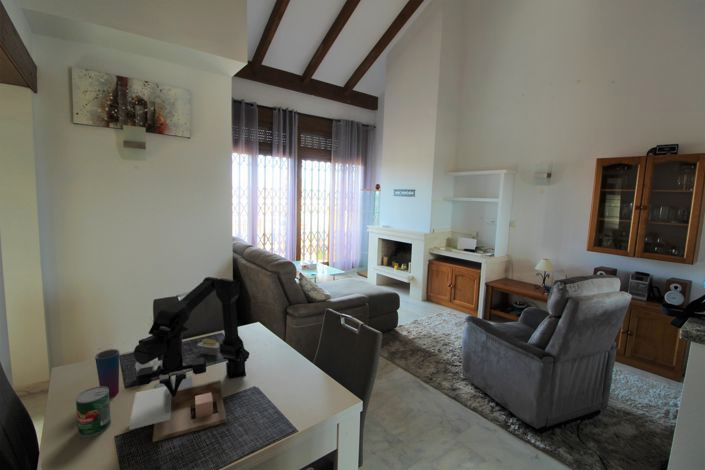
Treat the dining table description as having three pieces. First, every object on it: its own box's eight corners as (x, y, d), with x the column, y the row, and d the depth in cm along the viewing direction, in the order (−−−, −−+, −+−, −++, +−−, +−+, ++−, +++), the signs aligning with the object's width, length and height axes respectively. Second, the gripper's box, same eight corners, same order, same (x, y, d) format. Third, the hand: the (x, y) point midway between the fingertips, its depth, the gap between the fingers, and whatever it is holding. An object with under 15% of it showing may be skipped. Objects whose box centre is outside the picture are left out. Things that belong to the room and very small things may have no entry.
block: (211, 406, 113) (211, 392, 112) (213, 415, 109) (212, 400, 108) (195, 410, 111) (195, 396, 110) (196, 419, 106) (195, 404, 106)
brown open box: (220, 394, 119) (220, 379, 119) (226, 422, 105) (226, 406, 105) (156, 409, 110) (155, 393, 110) (152, 442, 96) (152, 424, 95)
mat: (191, 377, 129) (191, 376, 129) (192, 394, 119) (192, 393, 119) (156, 384, 124) (156, 383, 124) (153, 403, 113) (153, 402, 113)
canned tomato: (74, 439, 96) (71, 404, 95) (83, 422, 103) (80, 389, 102) (107, 432, 99) (105, 398, 98) (114, 416, 106) (111, 384, 105)
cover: (171, 389, 112) (171, 379, 111) (170, 419, 97) (169, 408, 97) (136, 396, 107) (135, 386, 107) (129, 429, 93) (128, 418, 92)
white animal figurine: (133, 357, 126) (153, 345, 138) (133, 379, 126) (153, 365, 138) (149, 357, 126) (168, 346, 138) (149, 380, 126) (168, 366, 138)
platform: (200, 346, 156) (200, 332, 155) (236, 350, 152) (235, 337, 151) (183, 358, 144) (182, 344, 143) (220, 363, 141) (220, 349, 140)
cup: (109, 401, 114) (106, 359, 112) (92, 398, 115) (89, 357, 113) (126, 389, 120) (124, 350, 118) (110, 387, 121) (108, 348, 120)
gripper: (203, 333, 114) (204, 376, 116) (139, 343, 105) (141, 389, 107) (205, 347, 104) (207, 394, 106) (135, 359, 96) (137, 409, 98)
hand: (174, 396), depth 105 cm, fingers closed
